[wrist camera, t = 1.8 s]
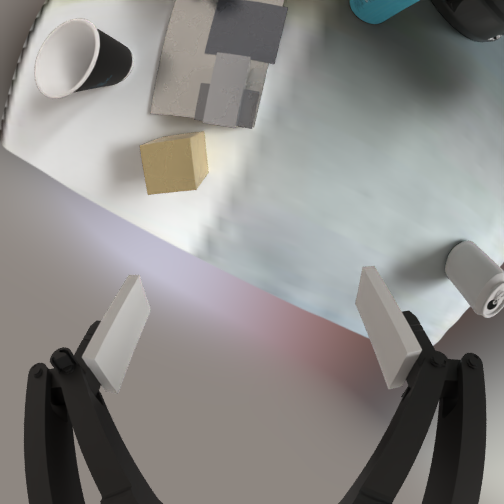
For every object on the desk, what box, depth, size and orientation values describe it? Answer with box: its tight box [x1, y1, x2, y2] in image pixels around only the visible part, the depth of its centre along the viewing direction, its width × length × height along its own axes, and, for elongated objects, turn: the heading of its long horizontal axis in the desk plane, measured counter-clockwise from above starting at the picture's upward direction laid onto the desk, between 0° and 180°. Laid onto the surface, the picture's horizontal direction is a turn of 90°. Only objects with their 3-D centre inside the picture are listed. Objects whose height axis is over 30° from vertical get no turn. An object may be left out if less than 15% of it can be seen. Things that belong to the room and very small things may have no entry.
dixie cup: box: [34, 18, 134, 99], centre depth 19 cm, size 8×8×11 cm
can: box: [445, 241, 504, 318], centre depth 31 cm, size 8×8×12 cm
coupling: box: [140, 131, 209, 195], centre depth 27 cm, size 5×5×7 cm
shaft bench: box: [150, 0, 288, 129], centre depth 20 cm, size 23×14×6 cm, turn 168°
